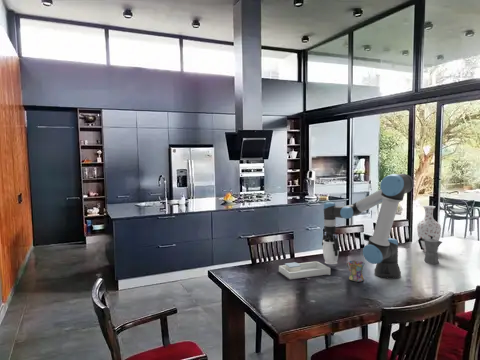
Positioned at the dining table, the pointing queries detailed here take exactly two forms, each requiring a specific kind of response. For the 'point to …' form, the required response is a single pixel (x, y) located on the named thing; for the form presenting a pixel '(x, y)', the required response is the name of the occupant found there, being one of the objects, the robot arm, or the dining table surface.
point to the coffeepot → (430, 249)
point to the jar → (328, 252)
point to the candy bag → (356, 270)
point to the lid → (292, 265)
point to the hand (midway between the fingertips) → (330, 258)
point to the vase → (428, 226)
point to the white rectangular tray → (306, 270)
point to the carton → (292, 269)
